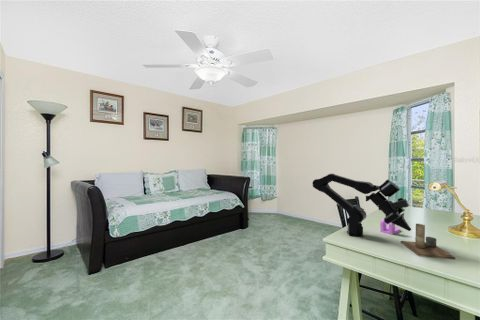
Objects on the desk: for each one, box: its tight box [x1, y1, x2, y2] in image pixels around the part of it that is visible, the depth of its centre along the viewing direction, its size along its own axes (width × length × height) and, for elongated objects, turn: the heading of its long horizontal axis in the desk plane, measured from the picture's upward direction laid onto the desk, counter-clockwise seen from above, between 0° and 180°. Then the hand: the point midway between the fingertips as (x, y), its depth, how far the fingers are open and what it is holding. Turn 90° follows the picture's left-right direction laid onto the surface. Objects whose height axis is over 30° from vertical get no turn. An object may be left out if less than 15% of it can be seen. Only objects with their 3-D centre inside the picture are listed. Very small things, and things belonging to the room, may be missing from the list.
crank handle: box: [414, 223, 437, 248], centre depth 98 cm, size 10×4×10 cm, turn 106°
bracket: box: [380, 218, 401, 236], centre depth 122 cm, size 13×6×7 cm, turn 124°
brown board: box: [400, 240, 456, 260], centre depth 97 cm, size 13×15×1 cm
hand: (410, 230), depth 99 cm, fingers closed
